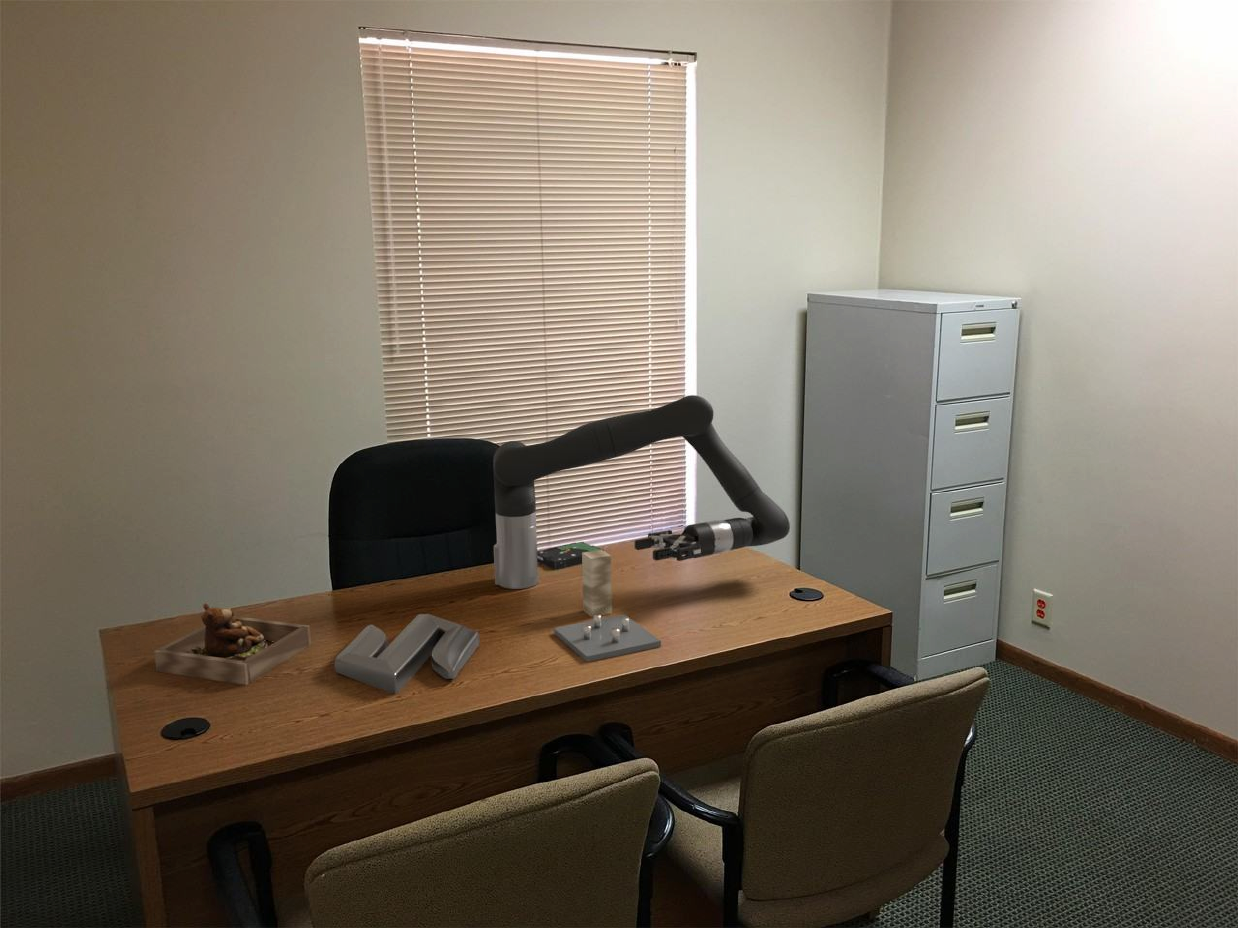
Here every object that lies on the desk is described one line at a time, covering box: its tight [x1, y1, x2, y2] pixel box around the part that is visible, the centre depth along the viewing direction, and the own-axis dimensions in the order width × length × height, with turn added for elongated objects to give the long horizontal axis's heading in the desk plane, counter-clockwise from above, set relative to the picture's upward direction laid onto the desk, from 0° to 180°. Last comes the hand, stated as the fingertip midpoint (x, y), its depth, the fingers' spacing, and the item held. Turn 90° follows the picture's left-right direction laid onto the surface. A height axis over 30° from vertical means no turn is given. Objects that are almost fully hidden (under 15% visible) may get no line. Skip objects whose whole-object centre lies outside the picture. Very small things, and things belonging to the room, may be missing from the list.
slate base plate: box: [553, 614, 662, 663], centre depth 199 cm, size 16×16×4 cm
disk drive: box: [537, 541, 605, 571], centre depth 249 cm, size 10×3×15 cm
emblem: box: [334, 613, 480, 695], centre depth 190 cm, size 28×5×28 cm
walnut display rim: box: [153, 615, 312, 686], centre depth 193 cm, size 20×19×4 cm
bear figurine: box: [191, 603, 268, 661], centre depth 192 cm, size 14×15×12 cm
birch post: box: [581, 549, 613, 618], centre depth 213 cm, size 5×5×13 cm
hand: (644, 550), depth 216 cm, fingers open, 8 cm apart
